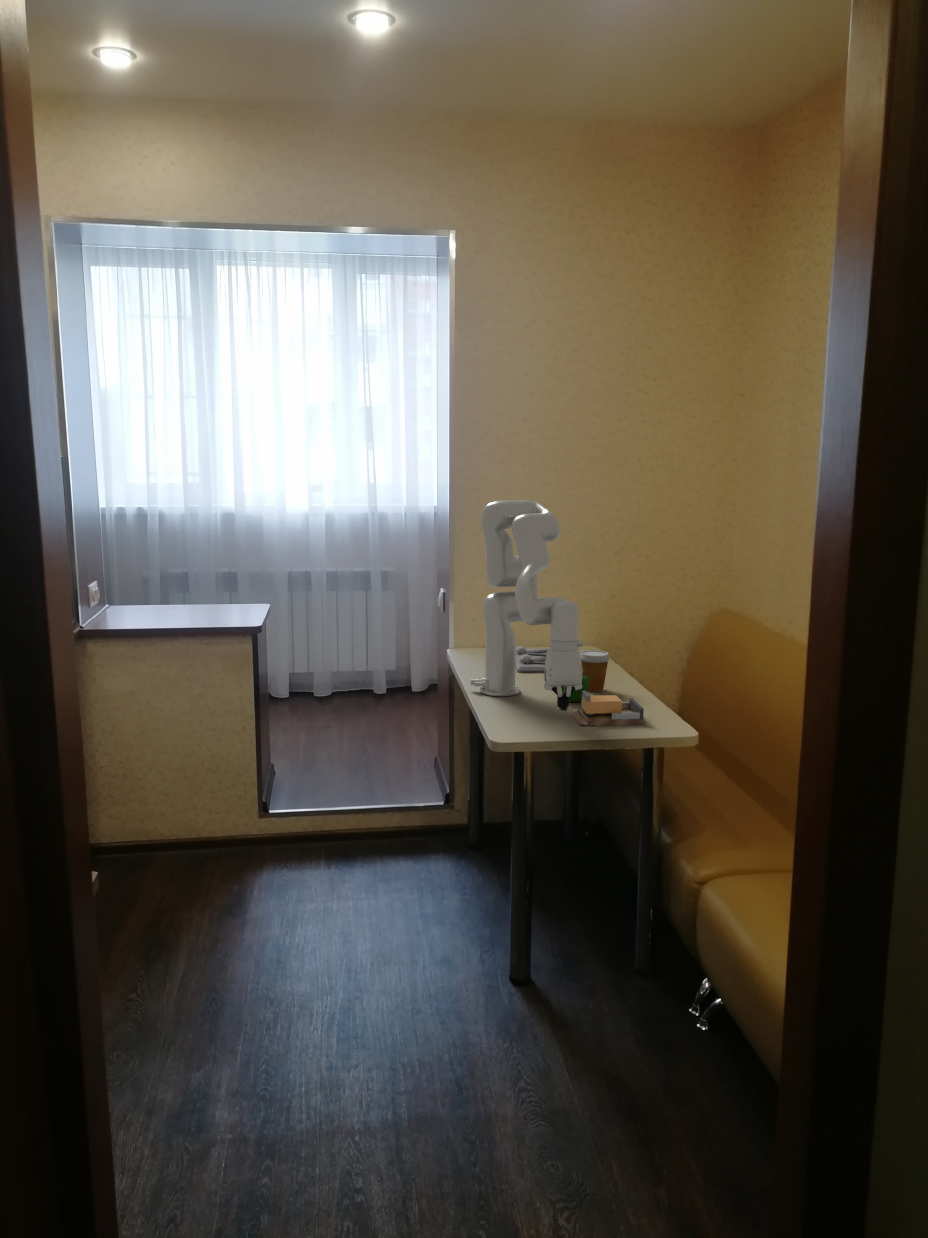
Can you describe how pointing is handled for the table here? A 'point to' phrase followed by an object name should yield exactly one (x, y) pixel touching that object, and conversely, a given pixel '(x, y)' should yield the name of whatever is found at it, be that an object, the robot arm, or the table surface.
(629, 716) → the loading dock
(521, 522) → the robot arm
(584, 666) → the disposable coffee cup
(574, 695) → the bell pepper
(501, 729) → the table surface
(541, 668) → the decorative plate
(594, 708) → the orange block
